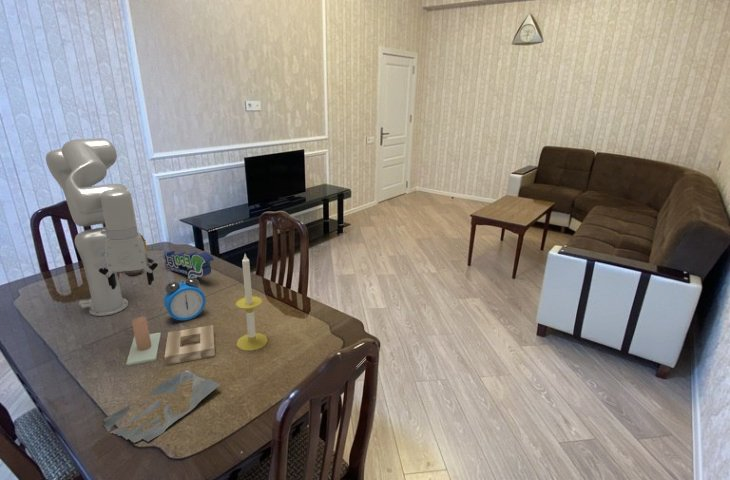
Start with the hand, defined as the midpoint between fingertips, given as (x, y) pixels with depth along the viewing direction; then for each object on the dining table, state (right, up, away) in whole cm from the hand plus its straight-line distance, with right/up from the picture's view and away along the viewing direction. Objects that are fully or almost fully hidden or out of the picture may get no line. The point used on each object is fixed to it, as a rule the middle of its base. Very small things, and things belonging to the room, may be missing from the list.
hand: (132, 285), depth 119 cm
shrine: (-38, +3, +73) cm, 82 cm away
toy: (-38, -1, +62) cm, 73 cm away
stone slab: (+17, -31, -15) cm, 39 cm away
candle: (+33, -21, +13) cm, 41 cm away
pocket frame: (+14, -22, +9) cm, 27 cm away
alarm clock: (+5, -15, +26) cm, 31 cm away
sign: (-9, -3, +58) cm, 59 cm away
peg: (0, -21, +7) cm, 22 cm away
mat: (0, -22, +7) cm, 23 cm away
